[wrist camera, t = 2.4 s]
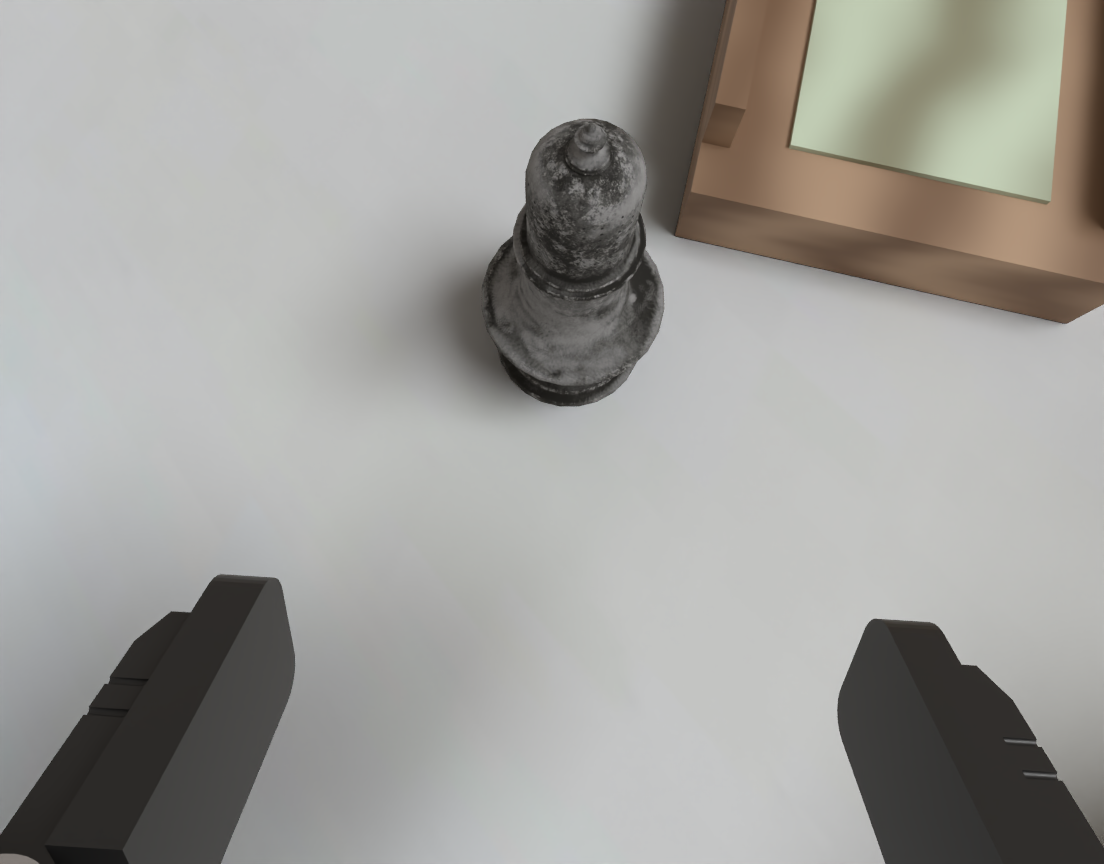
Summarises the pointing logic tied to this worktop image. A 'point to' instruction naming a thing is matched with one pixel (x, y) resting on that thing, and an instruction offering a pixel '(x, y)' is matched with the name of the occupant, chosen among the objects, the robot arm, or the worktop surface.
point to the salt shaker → (576, 269)
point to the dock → (911, 145)
